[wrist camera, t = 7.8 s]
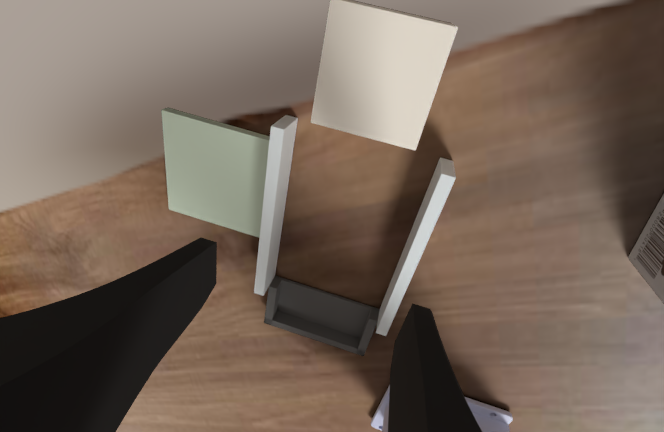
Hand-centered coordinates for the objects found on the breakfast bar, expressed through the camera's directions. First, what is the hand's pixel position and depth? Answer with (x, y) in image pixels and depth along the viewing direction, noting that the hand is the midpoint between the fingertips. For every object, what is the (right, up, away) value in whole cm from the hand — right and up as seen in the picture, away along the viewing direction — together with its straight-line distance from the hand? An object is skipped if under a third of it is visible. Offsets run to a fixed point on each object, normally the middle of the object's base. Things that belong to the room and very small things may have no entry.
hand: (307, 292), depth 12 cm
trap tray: (0, -5, +14) cm, 15 cm away
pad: (-6, +5, +10) cm, 13 cm away
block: (+4, +10, +5) cm, 12 cm away
